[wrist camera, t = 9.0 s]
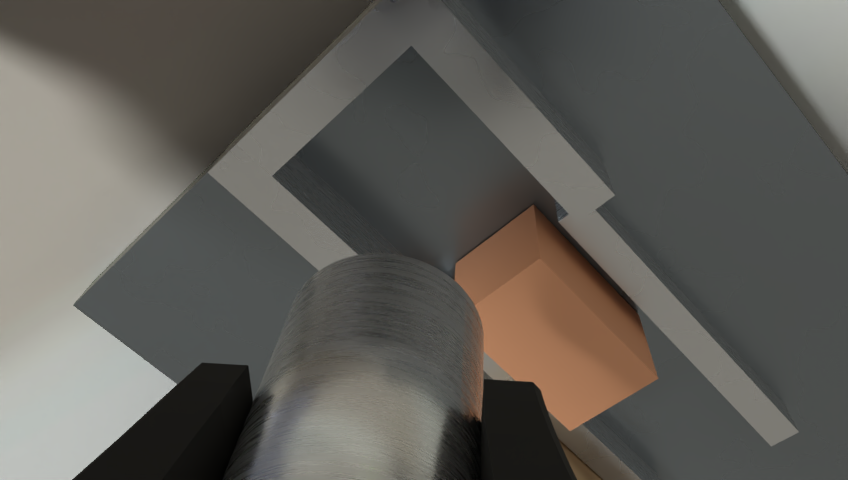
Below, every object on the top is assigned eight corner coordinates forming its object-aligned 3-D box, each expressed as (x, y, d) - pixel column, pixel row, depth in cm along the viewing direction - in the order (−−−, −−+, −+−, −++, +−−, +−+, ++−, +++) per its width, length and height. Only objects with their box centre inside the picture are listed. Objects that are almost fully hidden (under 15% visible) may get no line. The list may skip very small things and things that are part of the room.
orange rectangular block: (455, 263, 19) (452, 322, 17) (533, 204, 18) (539, 258, 16) (560, 364, 20) (570, 431, 18) (639, 314, 19) (658, 378, 17)
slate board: (90, 279, 21) (39, 338, 19) (565, -196, 15) (582, -198, 12) (573, 654, 28) (582, 733, 26) (1042, 442, 22) (1112, 521, 19)
